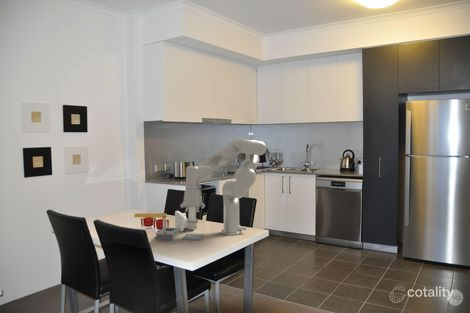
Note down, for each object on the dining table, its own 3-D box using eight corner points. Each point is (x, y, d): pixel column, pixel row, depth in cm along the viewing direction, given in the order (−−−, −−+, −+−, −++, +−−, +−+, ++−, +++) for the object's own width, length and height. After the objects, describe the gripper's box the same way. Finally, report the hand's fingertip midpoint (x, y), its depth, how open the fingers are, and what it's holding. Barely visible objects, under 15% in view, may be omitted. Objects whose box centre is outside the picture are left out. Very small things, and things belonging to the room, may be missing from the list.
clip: (135, 216, 216) (135, 213, 216) (167, 216, 216) (167, 213, 216) (134, 217, 213) (134, 214, 213) (166, 217, 213) (166, 214, 213)
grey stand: (178, 233, 230) (178, 212, 229) (171, 240, 214) (171, 217, 213) (164, 233, 231) (164, 212, 230) (156, 240, 215) (155, 217, 214)
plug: (198, 227, 223) (199, 205, 223) (196, 229, 217) (197, 207, 216) (188, 227, 224) (188, 205, 223) (185, 229, 218) (186, 206, 217)
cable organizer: (196, 231, 235) (196, 213, 234) (180, 233, 231) (179, 214, 230) (190, 226, 249) (189, 208, 248) (174, 228, 245) (173, 210, 244)
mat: (204, 234, 226) (204, 233, 226) (200, 240, 214) (200, 239, 214) (186, 234, 227) (186, 233, 227) (181, 239, 215) (181, 238, 215)
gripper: (208, 186, 222) (208, 217, 223) (179, 186, 224) (179, 216, 225) (206, 188, 215) (205, 220, 216) (176, 187, 217) (176, 219, 217)
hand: (192, 218), depth 220 cm, fingers closed on plug, 5 cm apart
